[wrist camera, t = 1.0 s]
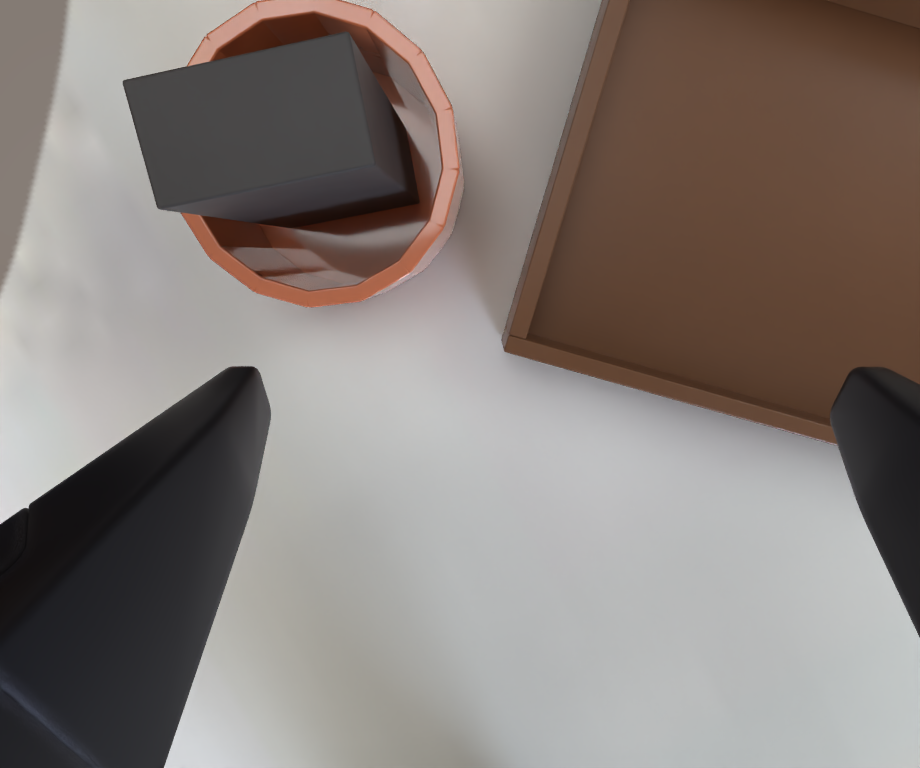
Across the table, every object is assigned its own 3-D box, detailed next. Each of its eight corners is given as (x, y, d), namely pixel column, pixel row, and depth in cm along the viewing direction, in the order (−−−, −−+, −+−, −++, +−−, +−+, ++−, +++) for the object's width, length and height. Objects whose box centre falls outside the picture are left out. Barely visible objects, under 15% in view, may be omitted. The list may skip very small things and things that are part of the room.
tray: (977, 475, 23) (1041, 504, 20) (501, 340, 22) (503, 351, 20) (1170, 92, 20) (1275, 67, 17) (623, -73, 19) (645, -125, 17)
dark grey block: (420, 203, 21) (375, 165, 12) (290, 229, 21) (156, 210, 13) (403, 117, 20) (345, 13, 12) (270, 144, 21) (116, 63, 12)
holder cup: (429, 320, 22) (415, 338, 17) (219, 260, 22) (145, 262, 17) (490, 94, 21) (493, 43, 16) (262, 27, 20) (193, -45, 16)
